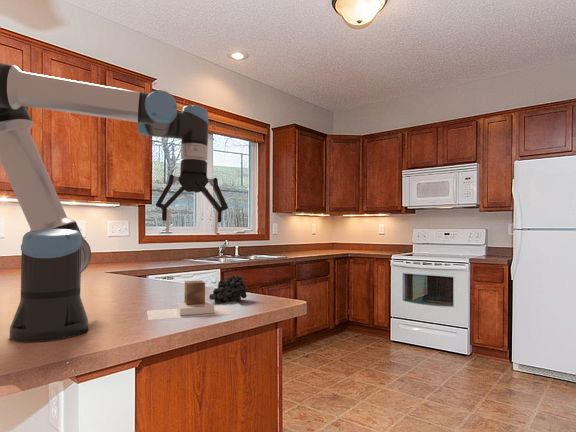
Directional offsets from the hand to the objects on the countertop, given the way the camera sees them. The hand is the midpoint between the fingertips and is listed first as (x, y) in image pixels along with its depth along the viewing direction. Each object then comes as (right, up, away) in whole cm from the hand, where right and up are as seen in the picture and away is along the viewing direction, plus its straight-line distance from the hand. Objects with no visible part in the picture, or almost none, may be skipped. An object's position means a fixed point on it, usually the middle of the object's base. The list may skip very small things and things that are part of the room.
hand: (191, 233), depth 113 cm
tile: (-2, -21, -5) cm, 21 cm away
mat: (0, -22, -4) cm, 23 cm away
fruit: (+8, -23, +14) cm, 28 cm away
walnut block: (+1, -20, -1) cm, 20 cm away
